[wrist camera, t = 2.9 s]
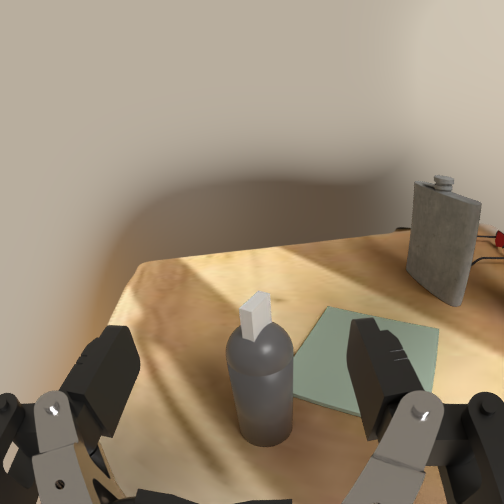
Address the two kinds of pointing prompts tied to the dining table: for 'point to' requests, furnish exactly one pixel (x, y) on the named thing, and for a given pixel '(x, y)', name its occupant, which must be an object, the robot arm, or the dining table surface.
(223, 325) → the dining table surface
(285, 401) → the grey bottle
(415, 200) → the hip flask
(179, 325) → the dining table surface
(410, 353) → the mat
